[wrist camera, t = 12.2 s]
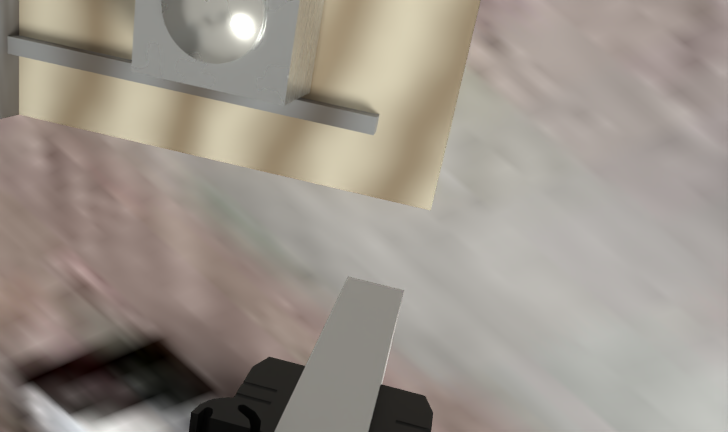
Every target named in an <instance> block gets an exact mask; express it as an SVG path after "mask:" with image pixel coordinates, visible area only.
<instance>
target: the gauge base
mask: <svg viewBox="0 0 728 432" xmlns="http://www.w3.org/2000/svg"><path fill="white" fill-rule="evenodd" d="M480 1H481V0H324V5H323V11H322V18H321V24H320V30H319V37H318V43H317V50H316V56H315V62H314V69H313V75H312V81H311V88H310V93H308V94H306V95H304V96H302V97H300V98H298V99H297V100H295V101H293V102H291V103H289V104H287V105H285V106H283V105H279V104H274V103H270V102H265V101H261V100H256V99H252V98H247V97H243V96H238V95H234V94H229V93H225V92H220V91H216V90H211V89H207V88H202V87H198V86H193V85H189V84H184V83H180V82H175V81H170V80H166V79H161V78H157V77H152V76H148V75H143V74H139V73H134V72H131V65H132V49H133V32H134V16H135V0H0V119H2V118H6V117H10V116H15V115H24V116H28V117H32V118H36V119H41V120H45V121H49V122H54V123H58V124H62V125H66V126H71V127H75V128H79V129H84V130H88V131H92V132H96V133H101V134H105V135H109V136H114V137H118V138H122V139H127V140H131V141H135V142H139V143H144V144H148V145H152V146H157V147H161V148H165V149H169V150H174V151H178V152H182V153H187V154H191V155H195V156H199V157H204V158H208V159H212V160H217V161H221V162H225V163H230V164H234V165H238V166H242V167H247V168H251V169H255V170H260V171H264V172H268V173H272V174H277V175H281V176H285V177H290V178H294V179H298V180H302V181H307V182H311V183H315V184H320V185H324V186H328V187H332V188H337V189H341V190H345V191H350V192H354V193H358V194H363V195H367V196H371V197H375V198H380V199H384V200H388V201H393V202H397V203H401V204H405V205H410V206H414V207H418V208H423V209H427V210H431V207H432V203H433V198H434V194H435V190H436V186H437V182H438V177H439V173H440V169H441V165H442V161H443V156H444V152H445V148H446V144H447V140H448V135H449V131H450V127H451V123H452V118H453V114H454V110H455V106H456V102H457V97H458V93H459V89H460V85H461V81H462V76H463V72H464V68H465V64H466V60H467V55H468V51H469V47H470V43H471V38H472V34H473V30H474V26H475V22H476V17H477V13H478V9H479V5H480Z"/></svg>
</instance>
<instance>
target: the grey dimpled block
mask: <svg viewBox="0 0 728 432" xmlns="http://www.w3.org/2000/svg"><path fill="white" fill-rule="evenodd" d="M323 5H324V0H135V16H134V32H133V49H132V65H131V72H134V73H139V74H143V75H148V76H152V77H157V78H161V79H166V80H170V81H175V82H180V83H184V84H189V85H193V86H198V87H202V88H207V89H211V90H216V91H220V92H225V93H229V94H234V95H238V96H243V97H247V98H252V99H256V100H261V101H265V102H270V103H274V104H279V105H283V106H285V105H287V104H289V103H291V102H293V101H295V100H297V99H298V98H300V97H302V96H304V95H306V94H308V93H310V88H311V81H312V75H313V69H314V62H315V56H316V50H317V43H318V37H319V30H320V24H321V18H322V11H323Z"/></svg>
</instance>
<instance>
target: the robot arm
mask: <svg viewBox="0 0 728 432" xmlns="http://www.w3.org/2000/svg"><path fill="white" fill-rule="evenodd" d="M403 293H404V290H400V289H396V288H392V287H388V286H384V285H380V284H376V283H372V282H368V281H364V280H360V279H356V278H352V277H348V278H347V280H346V282H345V284H344V286H343V288H342V290H341V293H340V295H339V297H338V299H337V301H336V303H335V305H334V307H333V309H332V311H331V314H330V316H329V318H328V320H327V322H326V324H325V326H324V328H323V330H322V333H321V335H320V337H319V339H318V341H317V343H316V345H315V347H314V349H313V351H312V354H311V356H310V358H309V360H308V362H307V364H306V366H303V365H299V364H295V363H291V362H287V361H284V360H280V359H276V358H272V357H268V358H267V359H265V360H263V361H262V362H260V363H258V364H257V365H255V366H253V367H252V369H251V370H250V372H249V374H248V375H247V377H246V379H245V380H244V383H243V384H242V385H241V387H240V388H239V390H238V391H237V394H236V396H234V398H228V397H227V398H218V399H212V400H209V401H207V402H204V403H202V404H200V405H199V406H198V407H197V408H196V409H194V410H193V411H192V412H191V419H190V428H189V432H431V427H432V418H433V412H432V409H431V407H430V405H429V403H428V401H427V399H426V397H425V396H424V395H420V394H416V393H412V392H408V391H404V390H401V389H397V388H393V387H389V386H385V385H382V382H383V378H384V374H385V370H386V366H387V361H388V357H389V353H390V348H391V344H392V340H393V336H394V331H395V327H396V323H397V318H398V314H399V310H400V306H401V301H402V297H403Z"/></svg>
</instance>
